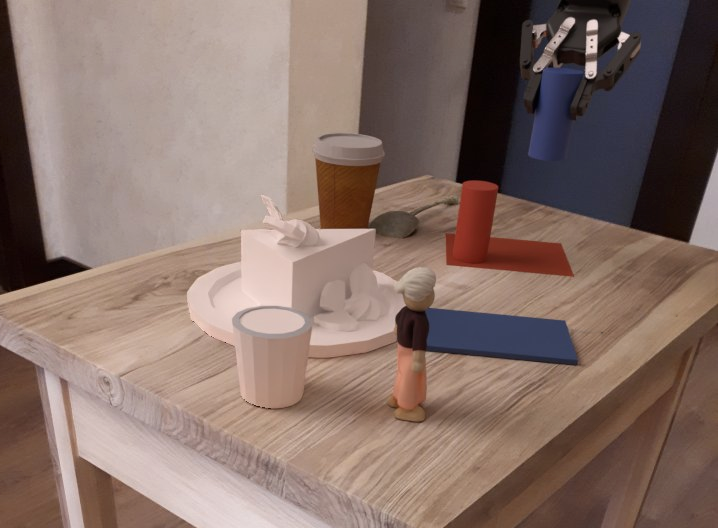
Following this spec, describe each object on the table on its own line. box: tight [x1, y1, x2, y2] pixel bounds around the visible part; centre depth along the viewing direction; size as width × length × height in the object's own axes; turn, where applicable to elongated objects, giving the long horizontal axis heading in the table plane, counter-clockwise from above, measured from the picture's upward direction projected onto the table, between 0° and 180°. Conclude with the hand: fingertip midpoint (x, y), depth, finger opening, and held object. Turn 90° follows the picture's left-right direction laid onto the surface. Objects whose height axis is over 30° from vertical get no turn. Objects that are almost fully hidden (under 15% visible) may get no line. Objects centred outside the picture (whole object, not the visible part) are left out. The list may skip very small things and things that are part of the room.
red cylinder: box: [452, 180, 499, 263], centre depth 100 cm, size 4×4×9 cm
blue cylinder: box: [527, 67, 584, 162], centre depth 91 cm, size 4×4×9 cm
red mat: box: [445, 232, 575, 278], centre depth 105 cm, size 16×13×1 cm
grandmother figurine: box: [386, 266, 437, 423], centre depth 67 cm, size 8×4×13 cm, turn 21°
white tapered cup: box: [232, 306, 313, 409], centre depth 69 cm, size 7×7×7 cm
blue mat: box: [425, 307, 579, 366], centre depth 84 cm, size 16×10×1 cm, turn 84°
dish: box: [186, 194, 406, 359], centre depth 84 cm, size 25×25×11 cm
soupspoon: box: [369, 195, 460, 239], centre depth 115 cm, size 22×3×7 cm
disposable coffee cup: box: [311, 132, 386, 229], centre depth 106 cm, size 10×10×12 cm
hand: (551, 111), depth 89 cm, fingers closed on blue cylinder, 4 cm apart
